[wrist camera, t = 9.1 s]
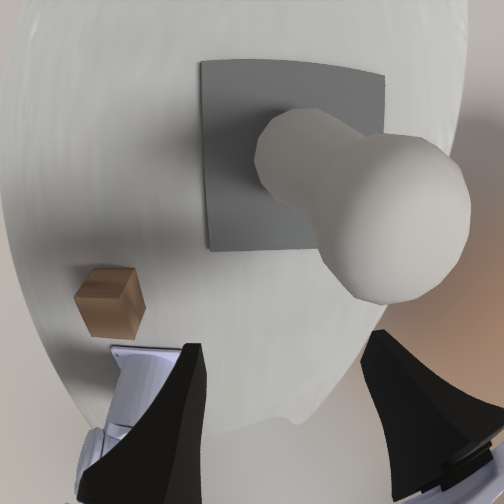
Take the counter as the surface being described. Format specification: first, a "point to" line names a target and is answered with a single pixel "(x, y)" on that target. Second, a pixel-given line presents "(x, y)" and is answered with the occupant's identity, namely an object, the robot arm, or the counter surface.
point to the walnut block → (111, 303)
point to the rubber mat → (251, 127)
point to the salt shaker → (368, 202)
